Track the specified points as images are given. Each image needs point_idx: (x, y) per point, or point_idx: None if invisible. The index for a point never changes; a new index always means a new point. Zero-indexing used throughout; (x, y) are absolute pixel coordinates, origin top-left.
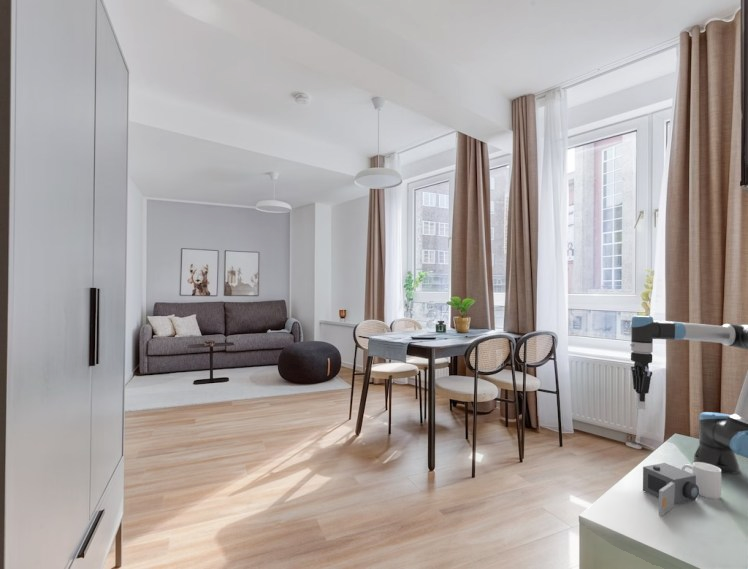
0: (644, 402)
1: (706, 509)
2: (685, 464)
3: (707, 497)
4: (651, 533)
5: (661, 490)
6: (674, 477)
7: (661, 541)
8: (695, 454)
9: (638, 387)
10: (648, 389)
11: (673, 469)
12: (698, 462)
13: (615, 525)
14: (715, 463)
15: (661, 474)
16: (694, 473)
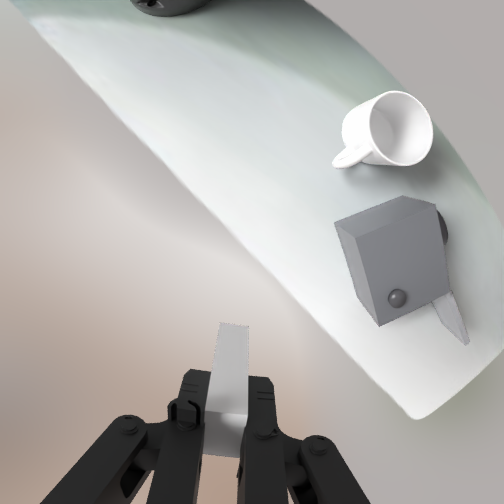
0: (247, 360)
1: (435, 204)
2: (354, 161)
3: (390, 151)
4: (468, 357)
5: (467, 342)
6: (441, 281)
7: (482, 353)
8: (139, 1)
9: (197, 487)
10: (349, 476)
11: (401, 245)
12: (369, 124)
13: (443, 394)
14: None
15: (424, 304)
16: (387, 164)
